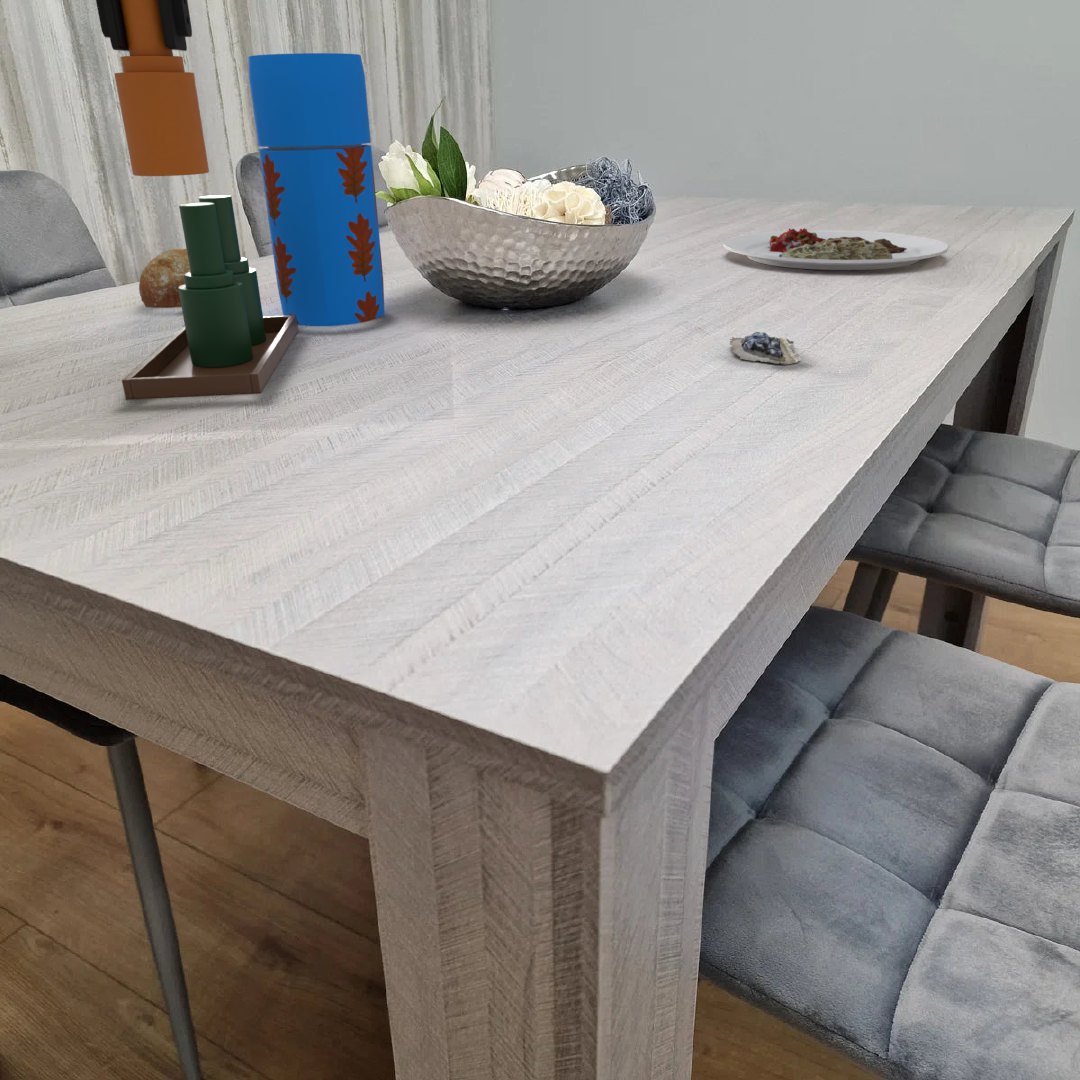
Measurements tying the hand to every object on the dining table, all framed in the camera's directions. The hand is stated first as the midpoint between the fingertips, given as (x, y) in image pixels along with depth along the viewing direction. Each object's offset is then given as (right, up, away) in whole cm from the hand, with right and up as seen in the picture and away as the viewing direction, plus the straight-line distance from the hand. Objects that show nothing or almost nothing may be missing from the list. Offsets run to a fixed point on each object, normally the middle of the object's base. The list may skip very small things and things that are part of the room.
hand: (150, 47), depth 64 cm
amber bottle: (0, -7, +3) cm, 8 cm away
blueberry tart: (+47, -17, +19) cm, 54 cm away
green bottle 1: (-1, -18, +18) cm, 26 cm away
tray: (-1, -19, +18) cm, 26 cm away
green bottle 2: (-2, -15, +25) cm, 29 cm away
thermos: (+5, -11, +35) cm, 37 cm away
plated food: (+68, +6, +67) cm, 96 cm away
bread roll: (-14, -6, +46) cm, 48 cm away
